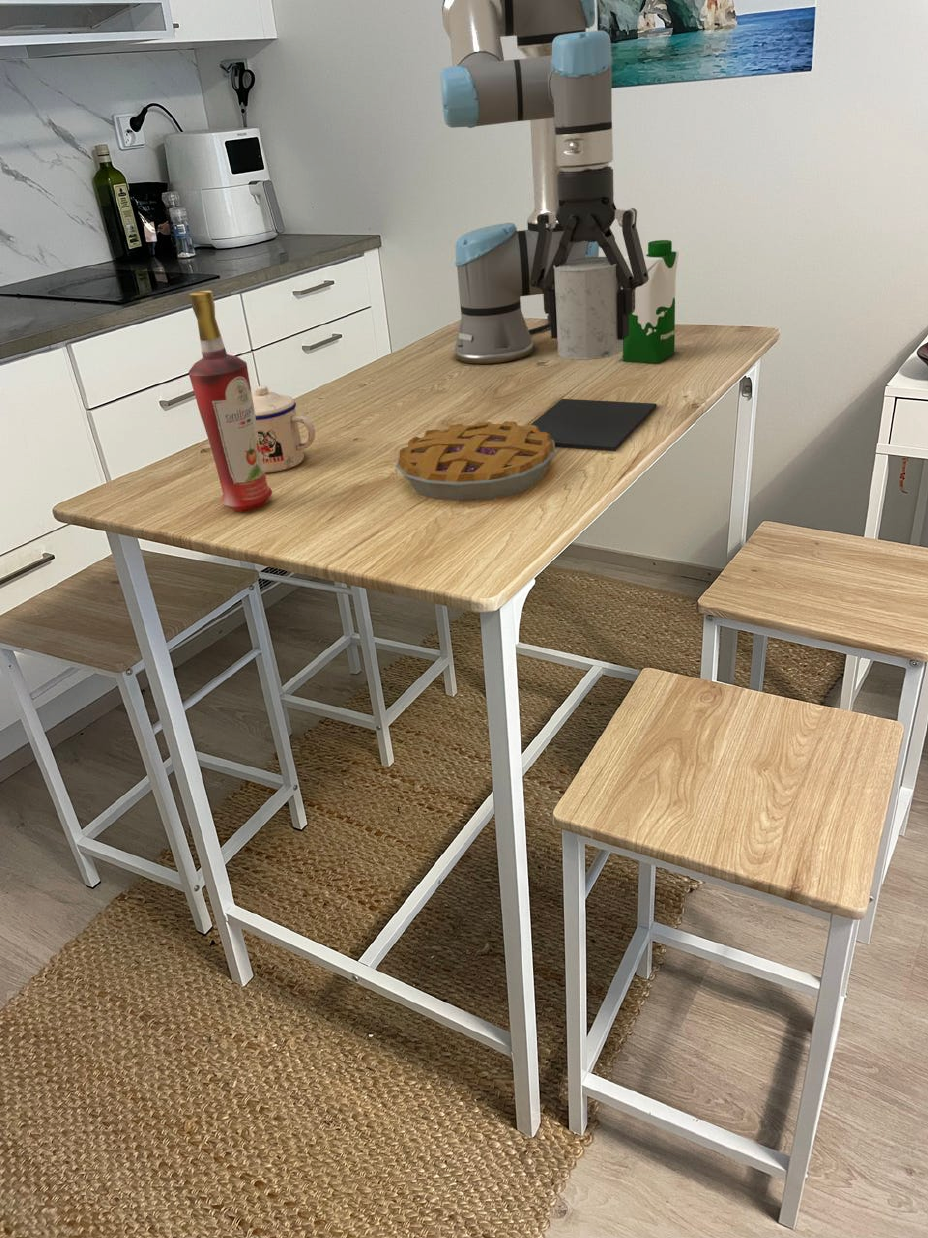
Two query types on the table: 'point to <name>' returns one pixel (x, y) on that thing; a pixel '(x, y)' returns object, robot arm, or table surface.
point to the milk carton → (653, 307)
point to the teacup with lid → (279, 430)
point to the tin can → (587, 309)
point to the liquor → (227, 413)
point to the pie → (476, 460)
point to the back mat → (592, 422)
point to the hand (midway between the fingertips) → (589, 336)
